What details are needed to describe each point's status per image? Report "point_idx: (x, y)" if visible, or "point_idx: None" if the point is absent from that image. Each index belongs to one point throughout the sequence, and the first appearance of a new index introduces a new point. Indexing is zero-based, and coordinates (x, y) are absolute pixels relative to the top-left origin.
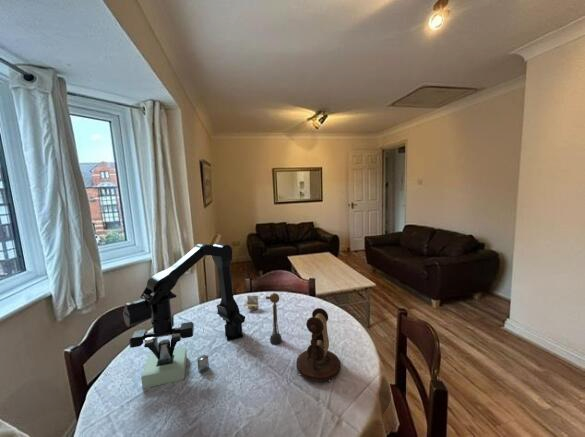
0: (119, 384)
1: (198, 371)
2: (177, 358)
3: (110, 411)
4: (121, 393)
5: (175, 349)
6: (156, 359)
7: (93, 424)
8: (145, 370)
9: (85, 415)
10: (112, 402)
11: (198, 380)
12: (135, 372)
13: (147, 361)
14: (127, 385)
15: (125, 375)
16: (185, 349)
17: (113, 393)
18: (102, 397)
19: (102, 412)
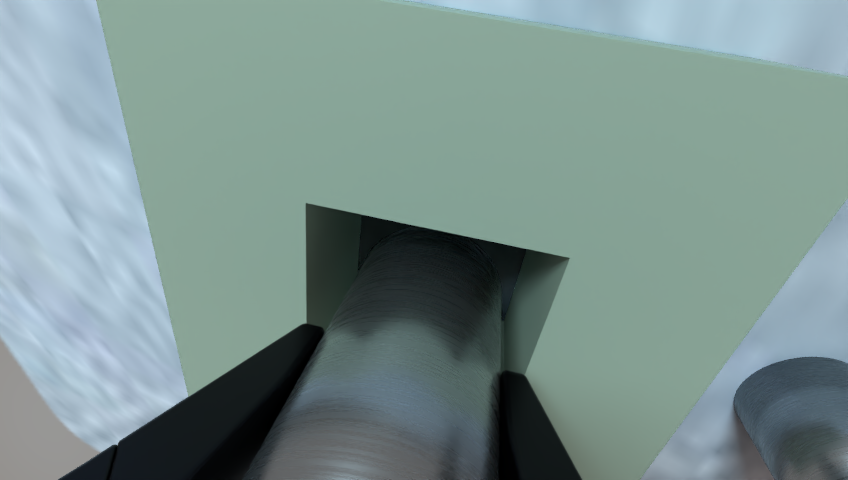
0: (53, 198)
1: (734, 401)
2: (586, 380)
3: (145, 410)
4: (131, 310)
5: (636, 77)
6: (279, 237)
7: (108, 438)
8: (204, 377)
9: (24, 370)
10: (116, 356)
11: (676, 476)
12: (110, 74)
13: (156, 213)
14: (130, 247)
15: (26, 76)
16: (835, 208)
17: (71, 281)
18: (17, 281)
19: (104, 396)
